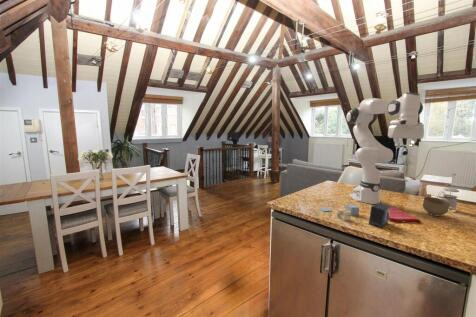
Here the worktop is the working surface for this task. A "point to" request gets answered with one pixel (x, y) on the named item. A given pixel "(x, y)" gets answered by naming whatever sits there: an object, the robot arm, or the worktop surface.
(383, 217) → the small box
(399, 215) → the dish towel
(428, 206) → the bowl
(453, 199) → the french press
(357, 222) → the worktop surface
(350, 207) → the grey cube
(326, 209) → the tile
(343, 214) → the maple block
